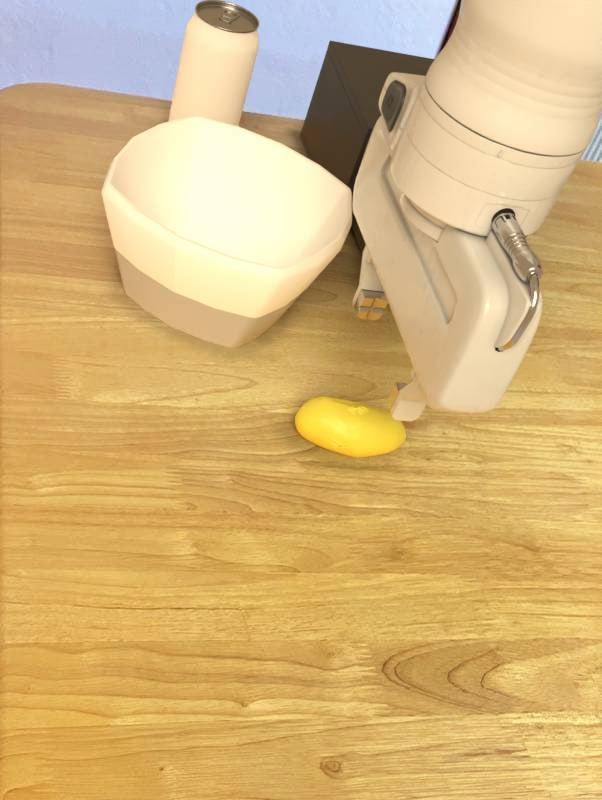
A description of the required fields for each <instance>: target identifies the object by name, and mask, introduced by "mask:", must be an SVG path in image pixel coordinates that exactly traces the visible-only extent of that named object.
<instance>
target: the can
mask: <svg viewBox="0 0 602 800" xmlns="http://www.w3.org/2000/svg"><path fill="white" fill-rule="evenodd" d="M259 27H260V20H259V18H258V17H257V15H255V14H254V13H253V12H252V11H251V10H249V9H247V8H245V7H243V6H241V5H239V4H236V3H233V2H230V1H226V0H201V1H199V2H198V3H196V5H195V7H194V14H193V15H192V16H191V17H190V19H188V22H187V25H186V28H185V32H184V37H183V43H182V48H181V53H180V57H179V62H178V67H177V73H176V78H175V84H174V87H173V88H174V89H173V94H172V100H171V104H170V109H169V114H168V120H167V122H169V121H173V120H177V119H181V118H186V117H190V116H196V115H197V116H201V117H205V118H209V119H213V120H216V121H220V122H224V123H227V124H231V125H235V126H239V127H240V121H241V117H242V114H243V110H244V106H245V102H246V100H247V95H248V91H249V87H250V83H251V79H252V75H253V71H254V67H255V63H256V59H257V56H258V51H259V46H260V39H259V34H258V29H259Z"/></svg>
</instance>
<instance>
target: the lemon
mask: <svg viewBox="0 0 602 800" xmlns="http://www.w3.org/2000/svg"><path fill="white" fill-rule="evenodd" d="M294 425H295V429H296V431H297V432H298V434H299V435H300V436H301V437H302V438H304V439H305V440H307V441H309V442H311V443H312V444H314V445H316V446H318V447H321V448H323V449H325V450H329V451H331V452H334V453H337V454H341V455H344V456H347V457H352V458H357V459H361V458H367V457H375V456H381V455H387V454H389V453H392V452H393V451H395V450H397V449H398V448H399V447H400V446H402V445H403V443H404V442H405V440H406V438H407V431H406V427H405V425H404V423H403V421H397V420H394V419H393V418H392V415H391V413H390V409H386V408H380V407H376V406H374V405H370V404H367V403H364V402H361V401H355V400H349V399H344V398H338V397H337V398H336V397H331V396H326V395H322V396H315V397H312V398H310V399H308V400H306V402H304V403H303V404H302V405H301V406H300V408H299V409H298V411H297V412H296V414H295V416H294Z"/></svg>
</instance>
